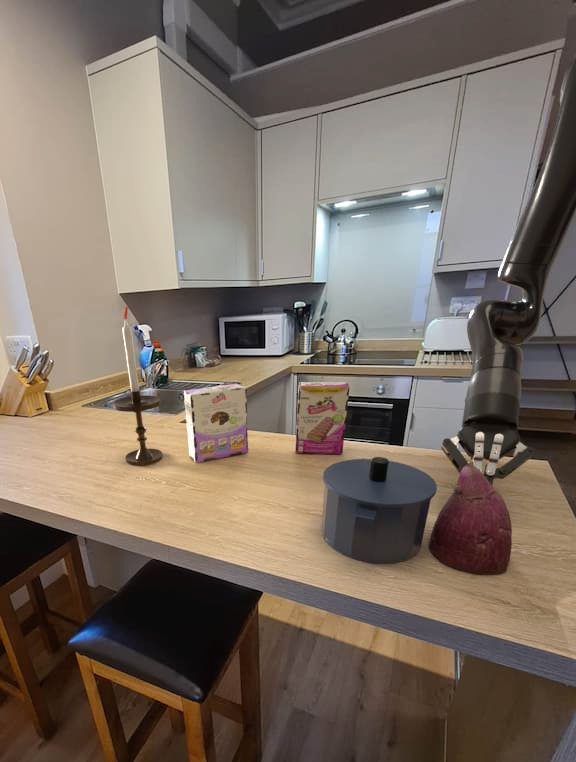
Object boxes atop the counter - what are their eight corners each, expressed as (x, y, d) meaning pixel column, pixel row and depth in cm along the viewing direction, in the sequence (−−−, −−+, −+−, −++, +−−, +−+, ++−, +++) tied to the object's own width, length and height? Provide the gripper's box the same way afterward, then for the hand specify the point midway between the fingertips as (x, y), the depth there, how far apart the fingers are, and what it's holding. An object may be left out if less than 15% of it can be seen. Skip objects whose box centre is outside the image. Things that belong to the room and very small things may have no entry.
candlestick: (169, 449, 102) (153, 302, 87) (162, 466, 92) (144, 303, 77) (128, 451, 102) (105, 304, 87) (117, 467, 92) (89, 306, 78)
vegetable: (413, 561, 61) (399, 470, 57) (464, 538, 63) (454, 449, 60) (476, 589, 51) (464, 481, 47) (534, 560, 53) (526, 456, 50)
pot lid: (437, 473, 61) (442, 448, 59) (433, 521, 49) (439, 492, 47) (335, 459, 68) (337, 437, 66) (310, 498, 56) (311, 472, 54)
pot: (424, 515, 67) (434, 464, 63) (415, 587, 51) (428, 525, 47) (337, 499, 73) (341, 452, 69) (305, 558, 58) (309, 502, 54)
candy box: (239, 446, 102) (237, 382, 94) (248, 453, 97) (247, 386, 89) (188, 455, 97) (182, 389, 90) (195, 463, 92) (190, 394, 85)
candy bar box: (295, 454, 95) (298, 386, 88) (295, 447, 99) (297, 381, 92) (343, 455, 93) (350, 385, 86) (341, 447, 97) (347, 381, 90)
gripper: (449, 388, 65) (433, 484, 60) (550, 392, 59) (540, 500, 55) (443, 411, 71) (428, 499, 67) (533, 417, 65) (524, 515, 61)
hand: (479, 499), depth 61 cm, fingers closed
